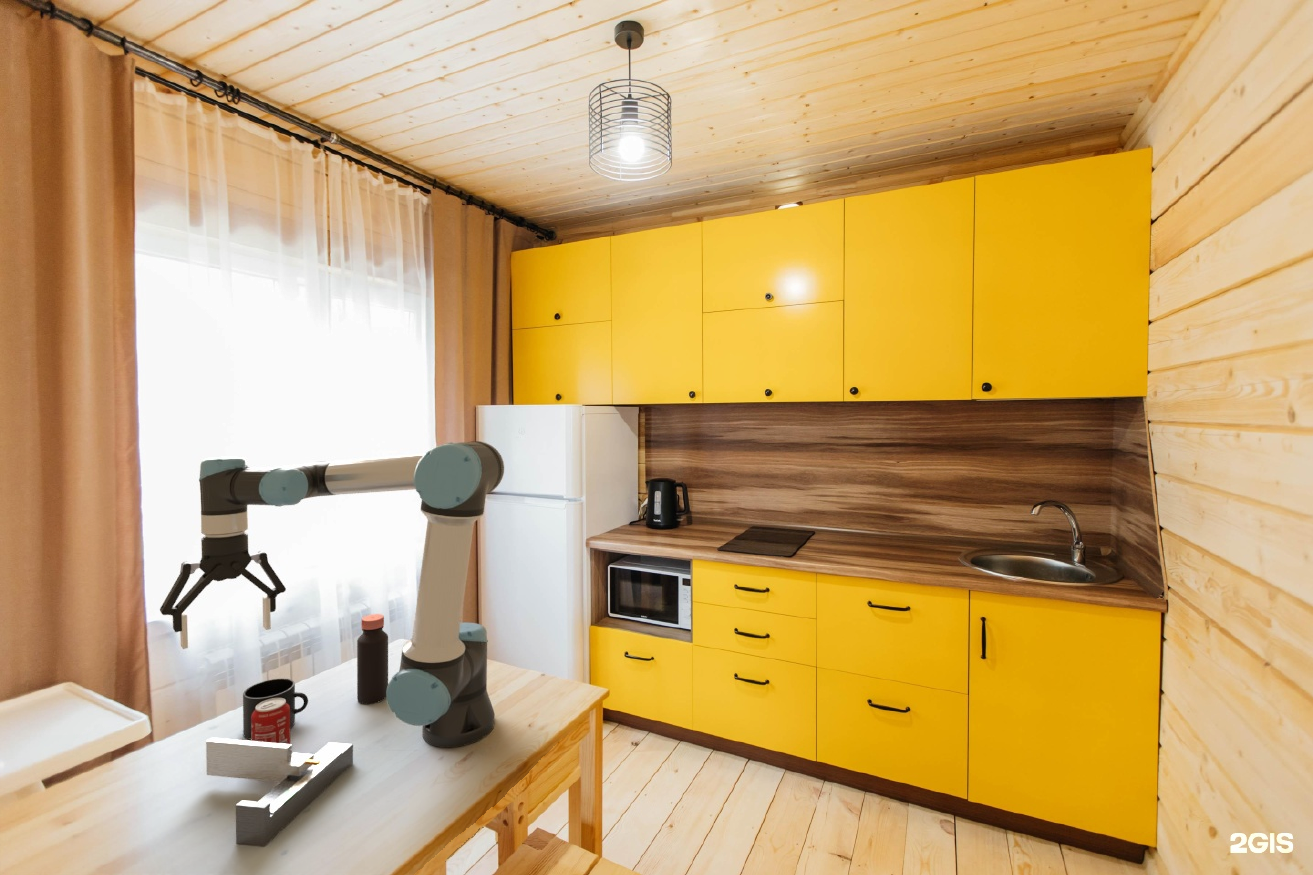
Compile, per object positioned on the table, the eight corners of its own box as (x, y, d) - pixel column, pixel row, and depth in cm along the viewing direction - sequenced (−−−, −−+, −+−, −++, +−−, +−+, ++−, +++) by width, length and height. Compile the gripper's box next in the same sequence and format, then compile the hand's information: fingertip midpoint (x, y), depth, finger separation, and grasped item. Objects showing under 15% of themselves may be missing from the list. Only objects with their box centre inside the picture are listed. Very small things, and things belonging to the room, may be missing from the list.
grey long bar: (352, 763, 113) (352, 732, 112) (264, 846, 91) (264, 807, 90) (329, 761, 113) (329, 730, 113) (236, 843, 91) (235, 804, 91)
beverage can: (283, 749, 117) (283, 692, 116) (295, 762, 113) (294, 703, 112) (247, 764, 112) (246, 704, 111) (257, 777, 108) (257, 715, 107)
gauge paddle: (325, 776, 105) (325, 743, 104) (311, 789, 101) (311, 754, 101) (218, 766, 107) (217, 733, 107) (200, 779, 104) (200, 744, 103)
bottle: (353, 697, 139) (353, 616, 138) (383, 688, 144) (383, 610, 143) (361, 707, 134) (361, 624, 133) (392, 698, 138) (391, 618, 138)
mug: (304, 732, 123) (304, 691, 123) (238, 744, 118) (237, 702, 118) (311, 711, 132) (311, 673, 132) (249, 721, 127) (248, 682, 127)
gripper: (290, 522, 126) (292, 616, 127) (139, 540, 108) (142, 649, 109) (300, 527, 121) (302, 625, 122) (144, 546, 103) (147, 661, 104)
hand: (227, 637), depth 115 cm, fingers open, 13 cm apart
